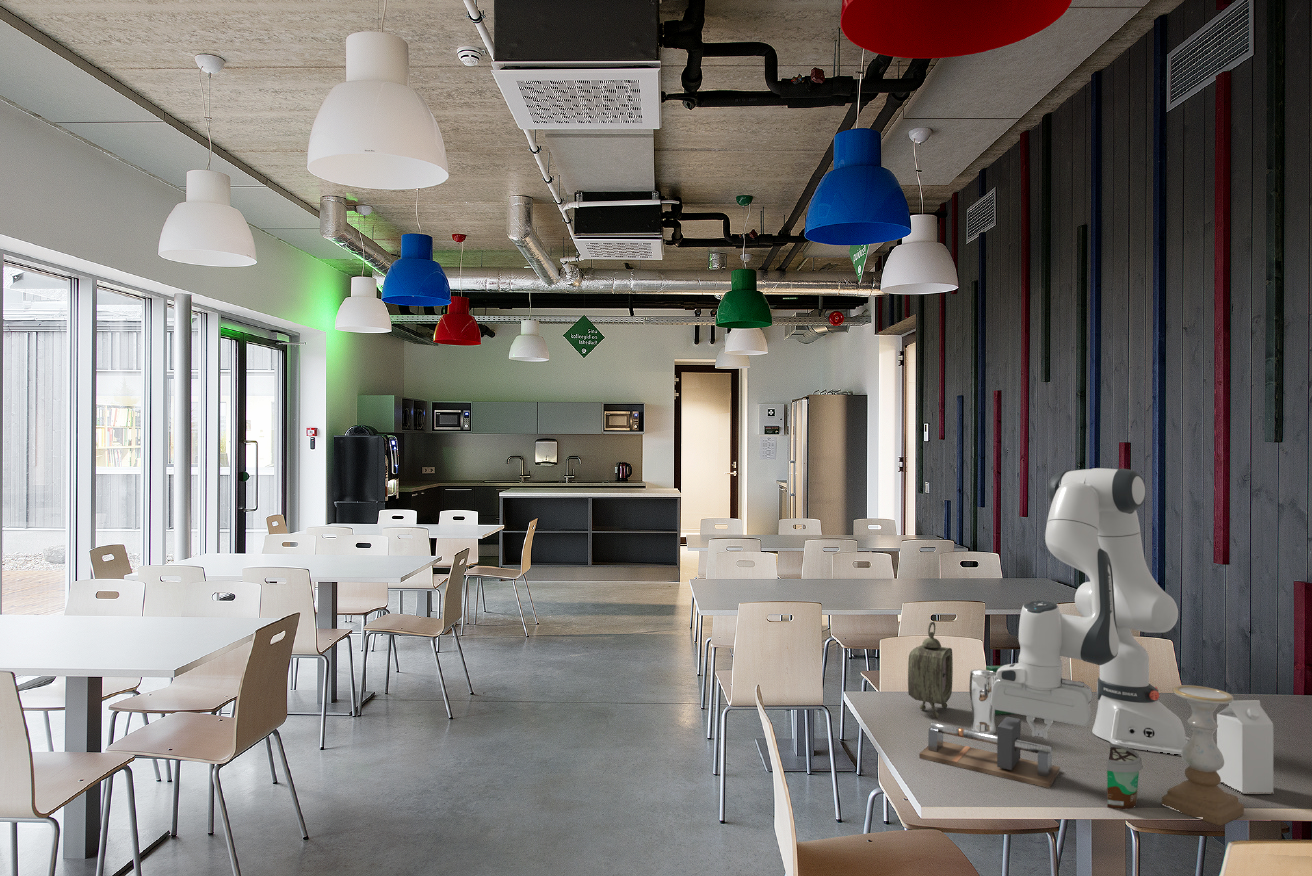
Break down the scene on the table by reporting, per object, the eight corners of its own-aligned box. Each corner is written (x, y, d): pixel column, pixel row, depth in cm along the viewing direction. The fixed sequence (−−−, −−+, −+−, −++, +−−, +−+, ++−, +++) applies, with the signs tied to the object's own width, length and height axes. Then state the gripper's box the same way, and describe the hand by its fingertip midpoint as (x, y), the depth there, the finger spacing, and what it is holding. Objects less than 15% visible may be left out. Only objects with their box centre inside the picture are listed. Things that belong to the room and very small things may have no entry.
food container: (1142, 817, 159) (1142, 767, 159) (1106, 810, 162) (1107, 760, 163) (1143, 796, 170) (1143, 748, 170) (1109, 789, 173) (1110, 742, 173)
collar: (1020, 758, 186) (1020, 719, 186) (1011, 770, 179) (1011, 729, 179) (1006, 755, 188) (1006, 716, 188) (997, 767, 180) (997, 726, 181)
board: (1059, 771, 182) (1059, 766, 182) (1049, 788, 173) (1049, 783, 173) (934, 743, 199) (935, 739, 199) (919, 757, 189) (919, 753, 189)
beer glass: (1000, 736, 205) (1000, 677, 205) (971, 733, 207) (972, 675, 207) (994, 727, 212) (995, 670, 212) (966, 725, 213) (967, 668, 214)
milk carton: (1216, 782, 178) (1216, 695, 178) (1246, 781, 178) (1246, 695, 179) (1242, 795, 171) (1242, 705, 171) (1273, 795, 171) (1273, 705, 172)
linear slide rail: (1051, 770, 180) (1052, 743, 180) (1047, 777, 176) (1047, 750, 176) (934, 744, 195) (934, 719, 196) (928, 750, 191) (928, 725, 192)
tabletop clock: (940, 721, 216) (941, 628, 216) (906, 715, 221) (907, 624, 221) (952, 707, 228) (953, 619, 229) (919, 702, 233) (920, 615, 233)
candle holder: (1186, 794, 171) (1186, 681, 171) (1245, 814, 162) (1245, 695, 162) (1160, 805, 165) (1160, 688, 165) (1220, 827, 156) (1220, 703, 156)
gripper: (1094, 680, 176) (1094, 743, 176) (996, 664, 188) (995, 724, 188) (1089, 686, 171) (1089, 752, 171) (989, 670, 183) (988, 731, 183)
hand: (1039, 737), depth 180 cm, fingers closed
